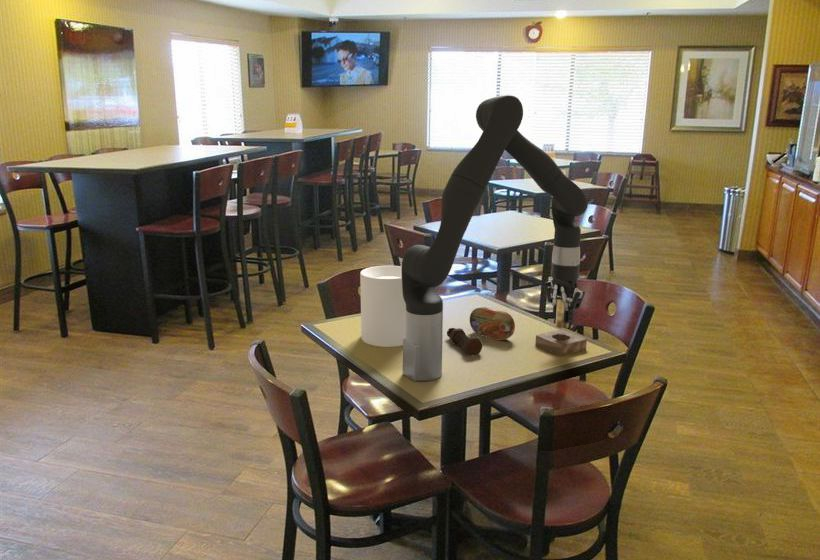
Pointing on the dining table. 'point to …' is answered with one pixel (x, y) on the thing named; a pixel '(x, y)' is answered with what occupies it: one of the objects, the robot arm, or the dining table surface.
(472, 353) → the dark brown lumpy piece
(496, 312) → the tin
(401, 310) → the canister
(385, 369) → the dining table surface
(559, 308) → the bushing
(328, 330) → the dining table surface
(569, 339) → the block
